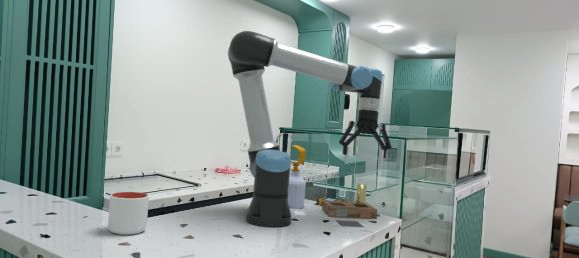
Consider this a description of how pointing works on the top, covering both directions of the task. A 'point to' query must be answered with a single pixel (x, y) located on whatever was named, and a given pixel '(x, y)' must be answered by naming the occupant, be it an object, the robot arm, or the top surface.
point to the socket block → (348, 210)
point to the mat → (349, 223)
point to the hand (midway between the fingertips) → (363, 165)
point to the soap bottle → (297, 183)
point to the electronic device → (320, 200)
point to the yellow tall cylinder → (361, 195)
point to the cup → (128, 212)
